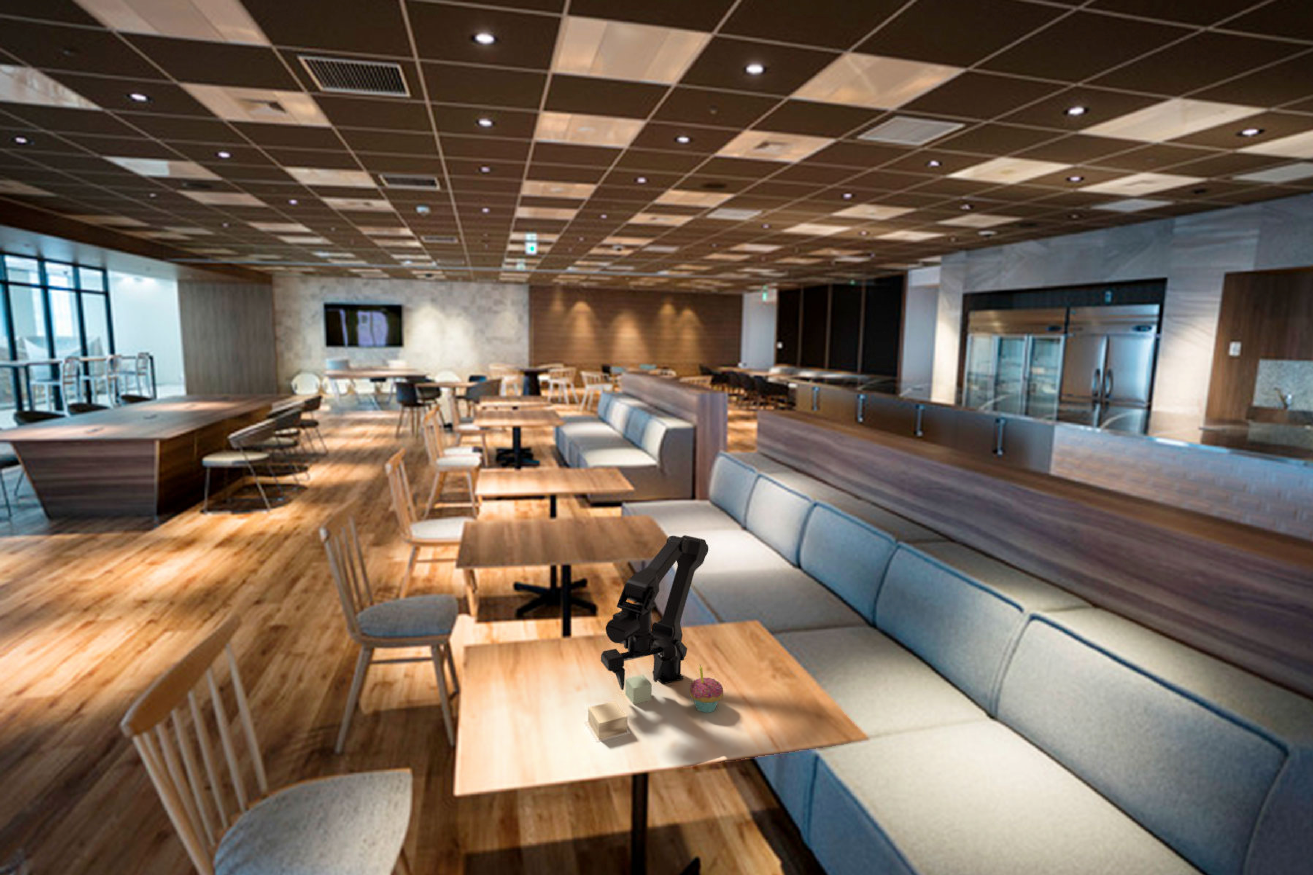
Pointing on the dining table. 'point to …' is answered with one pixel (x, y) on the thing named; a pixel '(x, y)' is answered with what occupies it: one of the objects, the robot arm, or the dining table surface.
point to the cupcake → (705, 693)
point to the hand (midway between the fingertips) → (638, 685)
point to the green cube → (638, 689)
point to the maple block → (607, 720)
